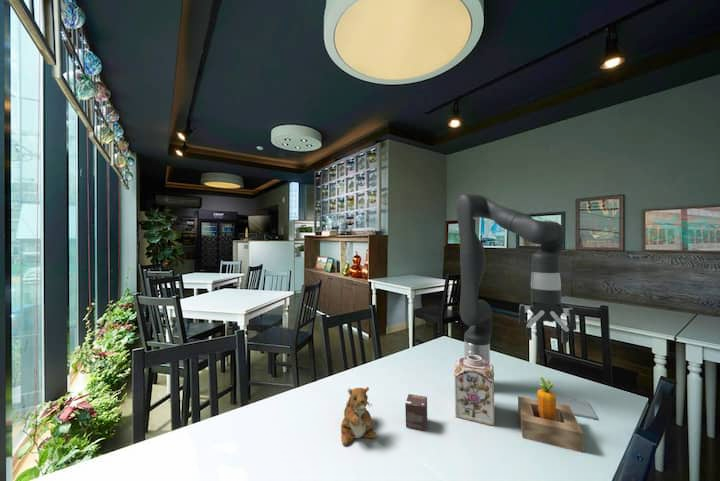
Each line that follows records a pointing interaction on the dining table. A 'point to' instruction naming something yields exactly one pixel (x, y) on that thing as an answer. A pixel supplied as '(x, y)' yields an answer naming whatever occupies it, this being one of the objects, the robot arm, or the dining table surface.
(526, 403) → the socket block
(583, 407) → the rubber mat
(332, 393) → the dining table surface
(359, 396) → the stuffed squirrel
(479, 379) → the decorative jar
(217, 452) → the dining table surface
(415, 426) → the box
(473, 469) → the dining table surface
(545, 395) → the carrot
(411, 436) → the dining table surface
